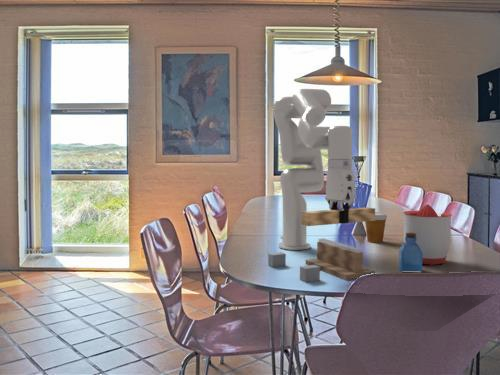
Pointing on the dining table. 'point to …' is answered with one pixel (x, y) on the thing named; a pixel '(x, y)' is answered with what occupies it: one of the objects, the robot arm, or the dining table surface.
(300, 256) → the dining table surface
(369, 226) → the disposable coffee cup
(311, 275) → the pair of grey cubes
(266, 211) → the dining table surface
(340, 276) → the stand
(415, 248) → the perfume bottle
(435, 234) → the citrus juicer
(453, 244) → the dining table surface
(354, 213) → the oak batten
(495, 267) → the dining table surface
